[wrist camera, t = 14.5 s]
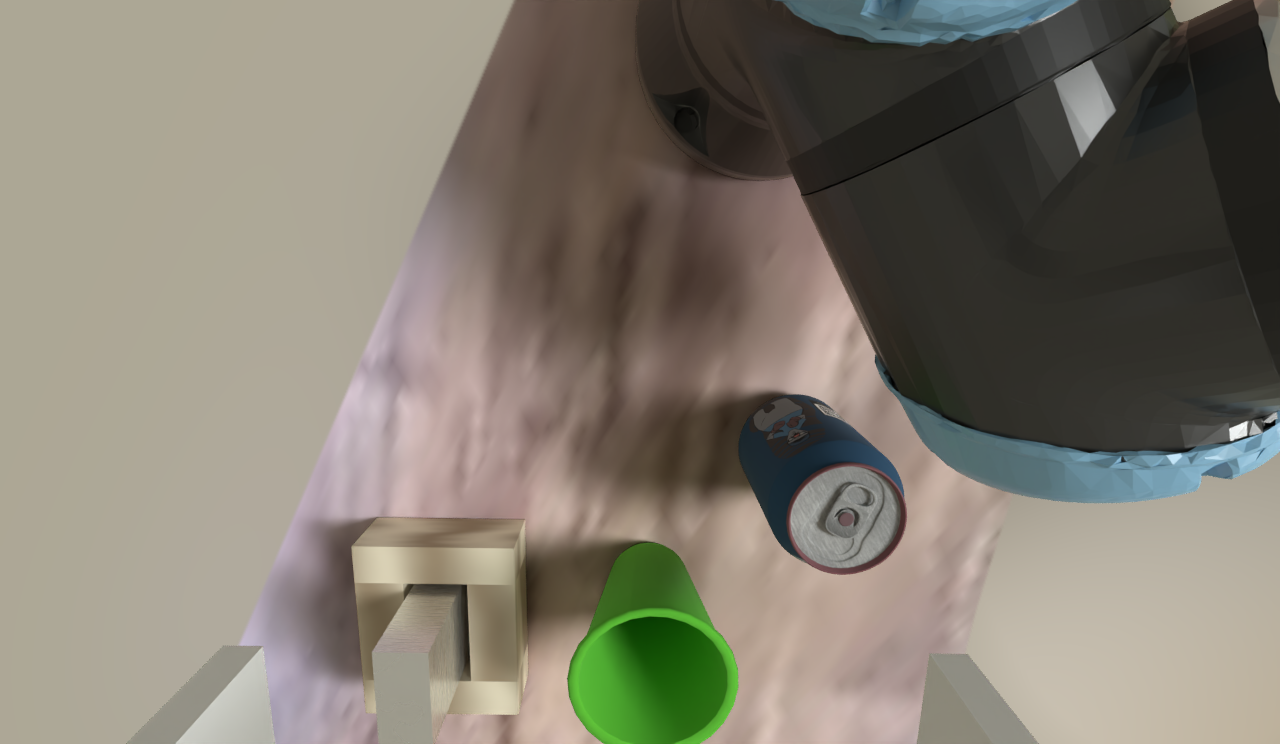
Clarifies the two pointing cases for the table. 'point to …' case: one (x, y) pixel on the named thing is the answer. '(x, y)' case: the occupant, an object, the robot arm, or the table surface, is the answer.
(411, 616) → the grey rectangular block
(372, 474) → the table surface
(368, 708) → the slotted holder
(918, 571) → the table surface
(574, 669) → the cup
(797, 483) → the soda can
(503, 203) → the table surface
